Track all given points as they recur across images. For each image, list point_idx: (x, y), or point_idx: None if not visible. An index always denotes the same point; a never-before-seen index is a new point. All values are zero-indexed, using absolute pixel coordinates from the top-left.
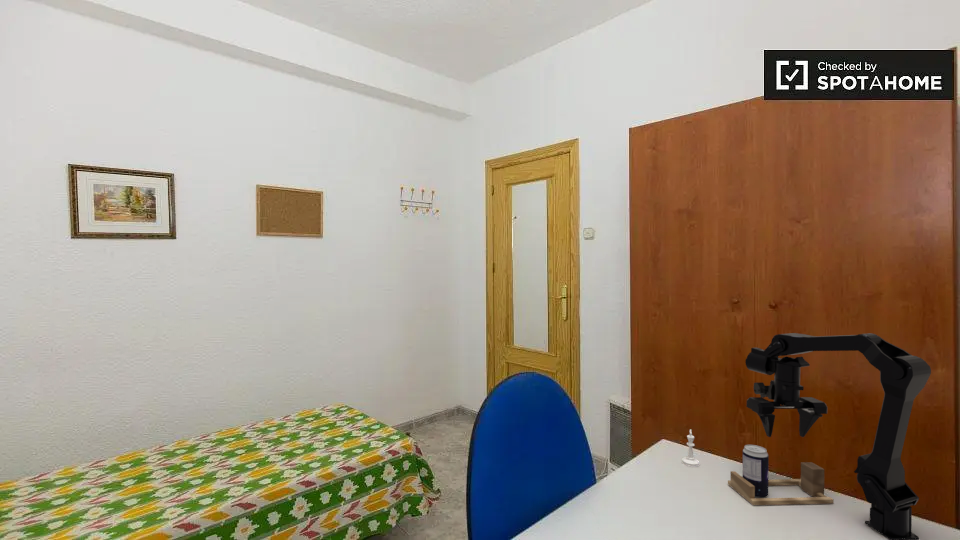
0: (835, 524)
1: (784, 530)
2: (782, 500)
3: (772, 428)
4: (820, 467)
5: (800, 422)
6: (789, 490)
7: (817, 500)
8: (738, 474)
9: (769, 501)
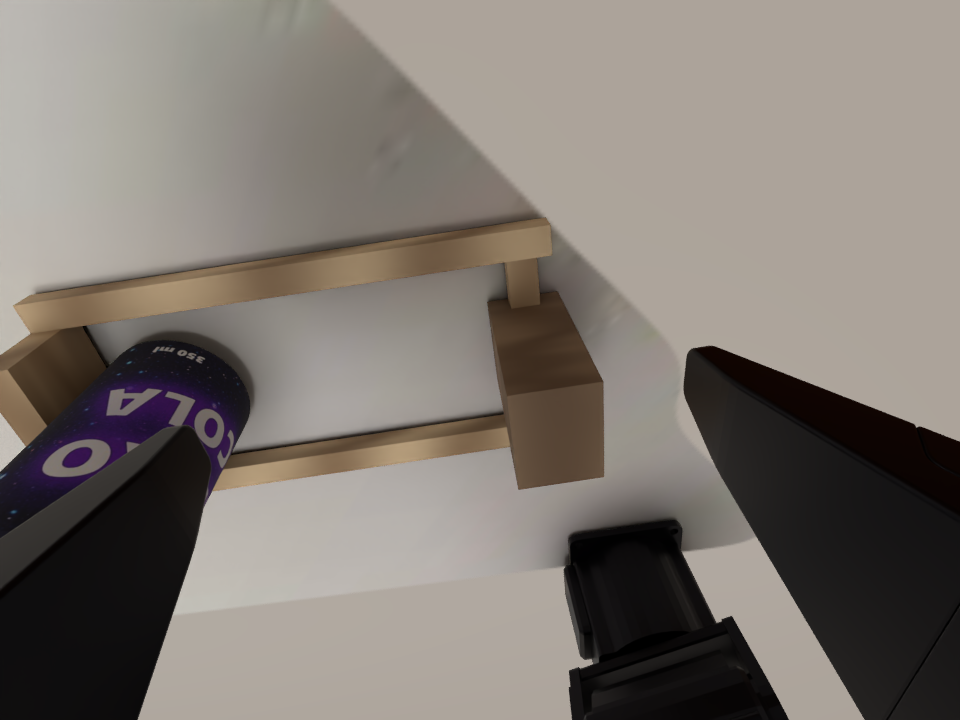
0: (451, 550)
1: (236, 603)
2: (294, 478)
3: (154, 647)
4: (599, 454)
5: (839, 482)
6: (413, 315)
7: (478, 448)
8: (32, 410)
9: (226, 487)
